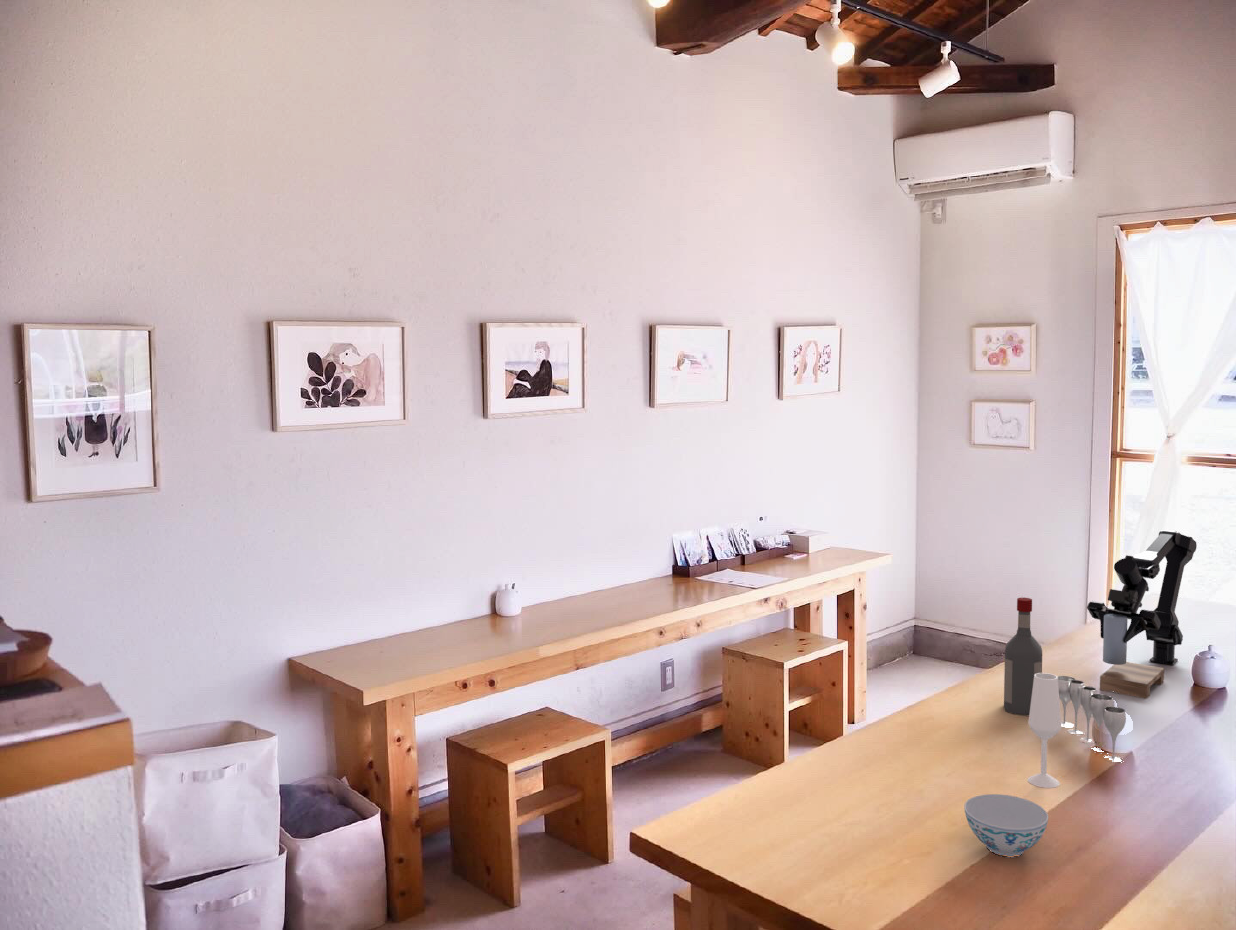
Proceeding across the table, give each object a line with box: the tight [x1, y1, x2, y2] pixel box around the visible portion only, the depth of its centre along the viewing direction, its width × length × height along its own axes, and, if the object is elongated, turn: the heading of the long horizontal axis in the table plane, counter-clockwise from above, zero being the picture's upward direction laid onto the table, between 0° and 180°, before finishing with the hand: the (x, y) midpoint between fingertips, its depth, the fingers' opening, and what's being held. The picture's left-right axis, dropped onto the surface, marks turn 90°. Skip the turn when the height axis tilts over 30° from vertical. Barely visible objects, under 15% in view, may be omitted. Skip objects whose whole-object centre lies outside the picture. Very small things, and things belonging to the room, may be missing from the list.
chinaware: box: [964, 793, 1049, 856], centre depth 196 cm, size 15×15×8 cm
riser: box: [1099, 661, 1165, 699], centre depth 289 cm, size 18×12×4 cm, turn 139°
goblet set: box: [1056, 675, 1127, 763], centre depth 249 cm, size 28×6×13 cm, turn 4°
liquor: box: [1003, 597, 1043, 716], centre depth 270 cm, size 9×9×30 cm
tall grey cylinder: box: [1102, 614, 1129, 665], centre depth 289 cm, size 6×6×13 cm
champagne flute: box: [1027, 672, 1062, 789], centre depth 225 cm, size 7×7×24 cm
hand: (1112, 639), depth 288 cm, fingers closed on tall grey cylinder, 6 cm apart
